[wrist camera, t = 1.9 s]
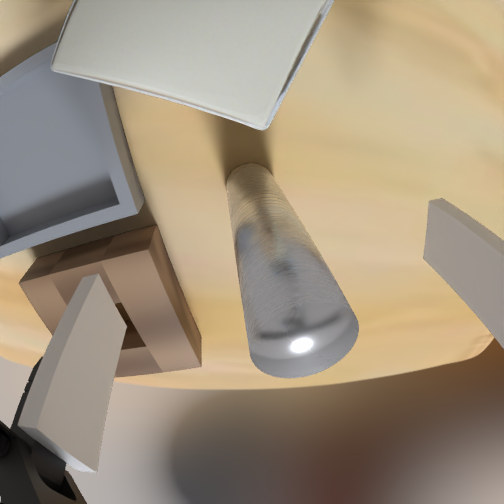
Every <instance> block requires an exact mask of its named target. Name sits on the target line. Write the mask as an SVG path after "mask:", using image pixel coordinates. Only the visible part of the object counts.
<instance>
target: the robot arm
mask: <svg viewBox="0 0 504 504" xmlns="http://www.w3.org/2000/svg"><path fill="white" fill-rule="evenodd" d="M423 259H424V260H425V261H426V262H427V263H428V264H429V265H430V266H431V267H432V268H433V269H434V270H435V271H436V272H437V273H438V274H439V275H440V276H441V277H442V278H443V279H444V280H445V281H446V282H447V283H448V284H449V285H450V286H451V288H452V289H453V290H454V291H455V292H456V293H457V294H458V295H459V296H460V297H461V298H462V300H463V301H464V302H465V303H466V304H467V305H468V306H469V307H470V308H471V310H472V311H473V312H474V313H475V314H476V315H477V317H478V318H479V319H480V320H481V321H482V322H483V324H484V325H485V326H486V327H487V328H488V330H489V331H490V332H491V333H492V334H493V336H494V337H495V338H496V339H497V341H498V342H499V343H500V344H501V346H502V347H503V348H504V241H503V240H502V239H501V238H499V237H498V236H497V235H495V234H494V233H493V232H491V231H490V230H489V229H487V228H486V227H485V226H483V225H482V224H480V223H479V222H478V221H476V220H475V219H473V218H472V217H470V216H469V215H467V214H466V213H464V212H463V211H461V210H460V209H458V208H457V207H455V206H454V205H452V204H451V203H449V202H448V201H446V200H445V199H443V198H440V199H435V200H430V201H429V206H428V219H427V230H426V239H425V248H424V256H423ZM126 328H127V326H126V324H125V322H124V320H123V319H122V317H121V315H120V313H119V311H118V310H117V308H116V306H115V304H114V302H113V300H112V298H111V297H110V295H109V293H108V291H107V289H106V287H105V285H104V283H103V281H102V279H101V277H100V275H99V273H98V274H94V275H90V276H86V277H83V278H82V280H81V282H80V283H79V285H78V287H77V289H76V291H75V293H74V294H73V296H72V298H71V300H70V302H69V304H68V306H67V308H66V310H65V312H64V314H63V316H62V318H61V320H60V322H59V324H58V326H57V328H56V330H55V332H54V334H53V336H52V338H51V341H50V343H49V345H48V347H47V349H46V352H45V354H44V356H43V357H41V359H40V360H39V361H38V362H37V364H36V365H35V366H34V368H33V370H32V372H31V375H30V377H29V380H28V381H29V383H27V384H26V387H25V389H24V390H25V393H23V395H22V397H21V400H20V403H19V405H18V408H17V411H16V414H15V417H14V420H13V424H12V426H11V428H10V429H9V428H8V427H7V426H6V425H5V424H4V423H2V422H1V421H0V496H1V502H0V504H87V503H86V501H85V499H84V498H83V496H82V494H81V493H80V491H79V489H78V487H77V485H76V484H75V482H74V480H73V478H72V476H71V475H70V474H69V472H68V471H66V470H65V467H66V463H67V464H69V465H70V466H72V467H73V468H75V469H76V470H78V471H85V472H94V473H97V470H98V463H99V455H100V450H101V443H102V437H103V431H104V425H105V420H106V414H107V409H108V404H109V399H110V394H111V390H112V385H113V381H114V376H115V372H116V368H117V363H118V359H119V355H120V351H121V347H122V343H123V339H124V336H125V332H126Z"/></svg>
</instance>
